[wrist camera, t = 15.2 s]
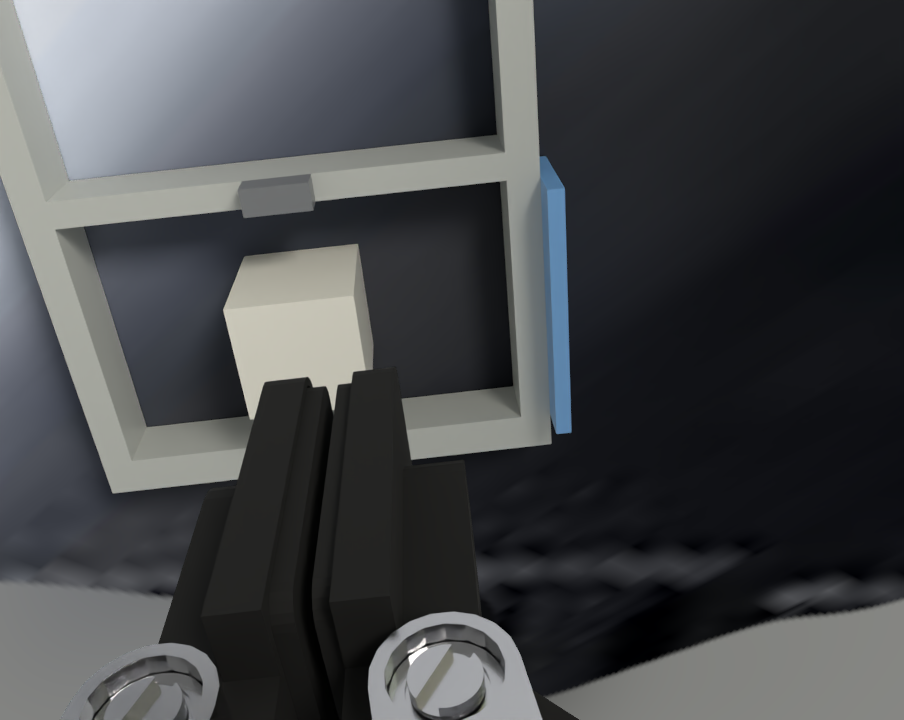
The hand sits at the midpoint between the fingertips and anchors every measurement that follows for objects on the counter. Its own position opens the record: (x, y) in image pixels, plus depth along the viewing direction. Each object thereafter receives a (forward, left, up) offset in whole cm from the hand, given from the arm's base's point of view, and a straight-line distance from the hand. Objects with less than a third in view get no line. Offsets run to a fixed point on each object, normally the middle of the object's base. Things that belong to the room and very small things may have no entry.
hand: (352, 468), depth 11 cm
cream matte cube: (+4, +8, -23) cm, 24 cm away
